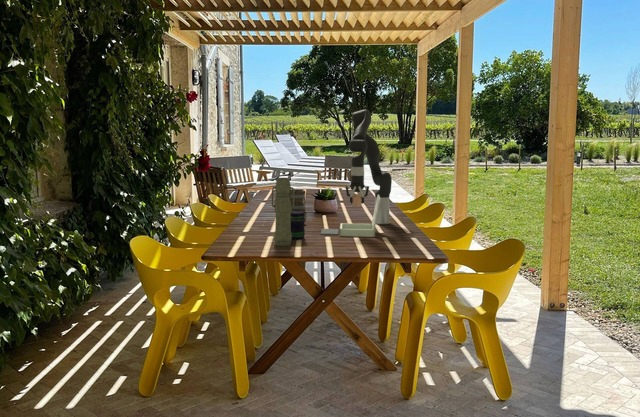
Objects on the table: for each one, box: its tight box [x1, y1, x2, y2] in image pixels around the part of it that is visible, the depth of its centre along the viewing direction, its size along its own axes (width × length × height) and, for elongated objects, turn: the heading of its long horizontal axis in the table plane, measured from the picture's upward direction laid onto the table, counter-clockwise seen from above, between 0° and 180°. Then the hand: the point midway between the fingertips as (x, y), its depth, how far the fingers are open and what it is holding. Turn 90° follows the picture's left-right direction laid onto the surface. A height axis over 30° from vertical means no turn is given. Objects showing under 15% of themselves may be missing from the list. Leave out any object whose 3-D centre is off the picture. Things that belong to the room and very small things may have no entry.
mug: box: [290, 189, 306, 212], centre depth 425 cm, size 20×14×15 cm
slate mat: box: [320, 228, 340, 236], centre depth 338 cm, size 10×16×1 cm, turn 177°
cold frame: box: [339, 195, 381, 238], centre depth 336 cm, size 23×20×22 cm
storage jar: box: [291, 211, 306, 241], centre depth 318 cm, size 10×10×15 cm
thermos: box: [271, 177, 296, 247], centre depth 300 cm, size 9×12×35 cm
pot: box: [351, 193, 362, 208], centre depth 335 cm, size 6×6×7 cm
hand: (356, 203), depth 335 cm, fingers closed on pot, 5 cm apart
